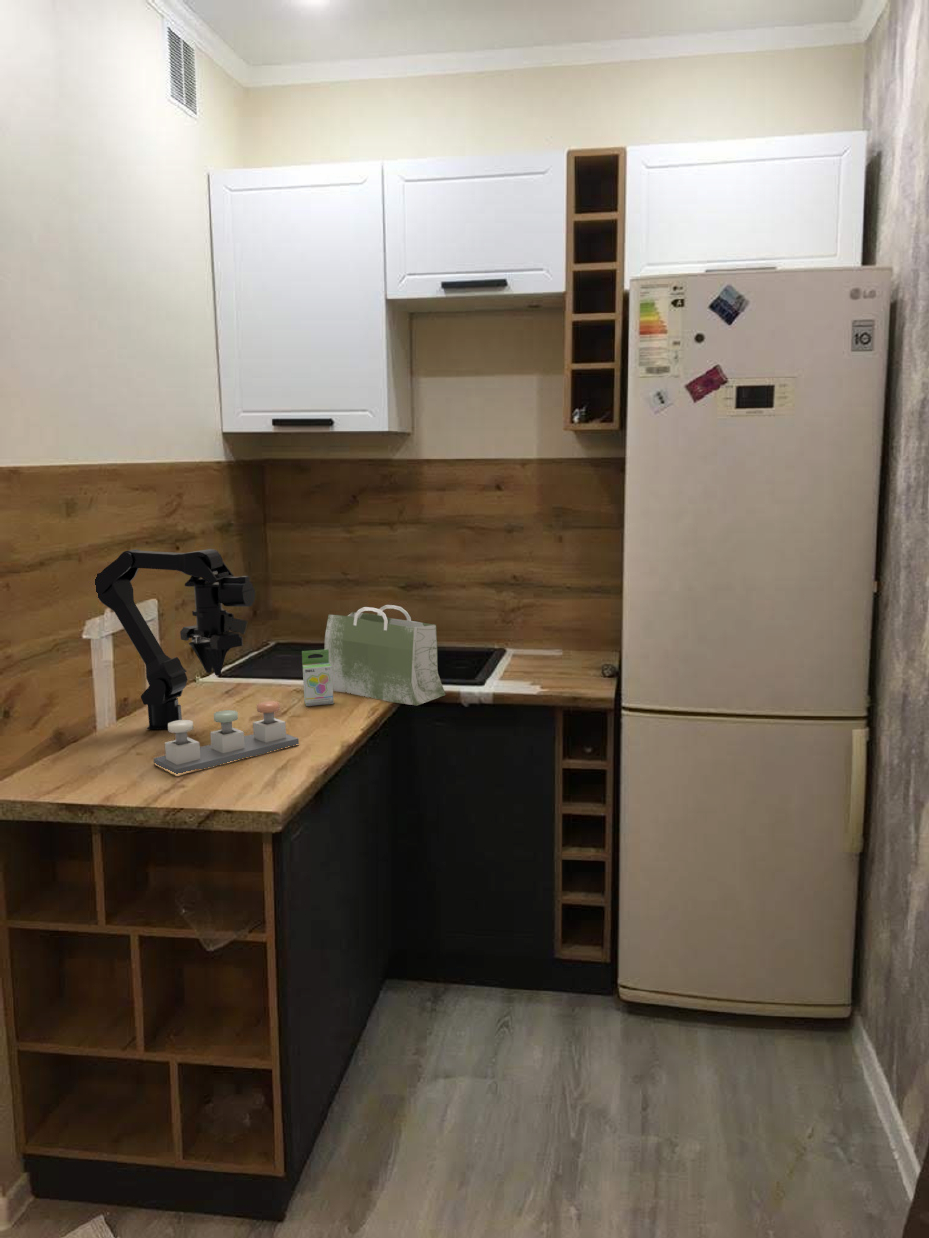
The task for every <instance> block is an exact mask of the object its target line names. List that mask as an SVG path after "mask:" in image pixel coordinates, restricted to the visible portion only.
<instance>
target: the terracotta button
mask: <svg viewBox="0 0 929 1238" xmlns="http://www.w3.org/2000/svg"><path fill="white" fill-rule="evenodd" d="M280 707H281V704H280V702H279V701H276V700H275V701H274V700H267V701H262V702H261V701H260V702H257V704H256V711H257V712H258V713H261V714H262V713H263V714H262V715H263V720H264V724H266V725H268V724H272V723H274V718H275V712H278V711H280V709H281V708H280Z"/></svg>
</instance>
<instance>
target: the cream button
mask: <svg viewBox="0 0 929 1238" xmlns="http://www.w3.org/2000/svg"><path fill="white" fill-rule="evenodd" d="M193 729H194V721H193V720H190V719H182V720H177V721H173V722H170V723H168V729H167V731H168V732H169V733H172V734H175V740H176V745H178V746H179V745H183V744H187V743H188V742H187V737H188V732H190V731H192V730H193Z"/></svg>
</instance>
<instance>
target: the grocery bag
mask: <svg viewBox="0 0 929 1238" xmlns="http://www.w3.org/2000/svg"><path fill="white" fill-rule="evenodd" d="M386 609H390V610H391V609H393V610H396V611H400V612H401V613H402V614H403V615H404V616H405V618H406V619H397V618H391V617H387V615H386V613H385V612H384V611H385V610H386ZM366 611H367V612H370V611H371V612H374V613H364V612H366ZM375 613H376V614H375ZM437 637H438V635H437V624H433V623H432V624H431V623H425V622H421V621H420V622H419V621H413V620H412V618H411V616H410V614H409V613H408V611H407V610H405V609H404V608H403V607H402V606H398V605H394V604H393V605H392V604H385V605H383V606H381V607H380V608H375V607H371V606H370V607H369V606H364V607H361V608H359V609H358V610H357V611H356V612H355V611H352V612H350V614H348V615H339V614H328V617H327V622H326V628H325V634H324V649H323V650H326V649H329V663H330V665H331V667H332V683H333V692H339V693H345V692H347V693H346V694H350V693H351V694H352V695H355V696H359V697H364V696H365V698H369V697H371V698H370V699H374V698H375V700H379V699H381V700H380V701H385V702H389V703H397V704H403V705H404V704H405V705H410V706H411V705H412V706H420V705H423V704H424V703H425V704H426V703H428V702H431V701H433V700H436V699H439V698H441V697H443V696H446V692H445V689H444V686H443V684H442V683H443V682H442V680H441V678H440V675H439V671H438V638H437ZM351 694H350V695H351Z"/></svg>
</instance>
